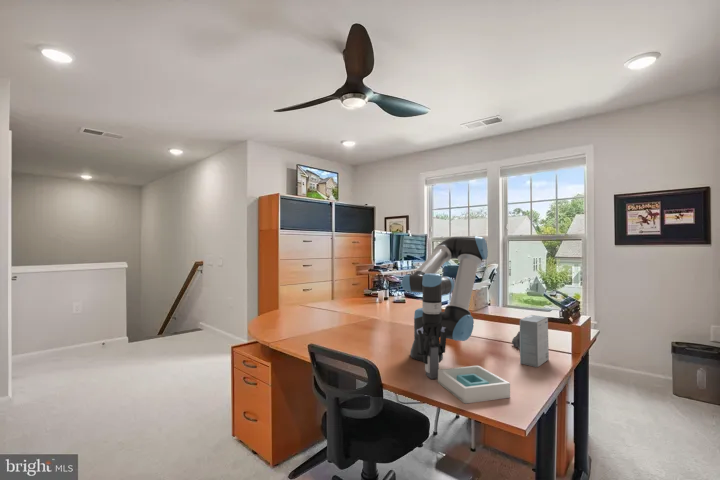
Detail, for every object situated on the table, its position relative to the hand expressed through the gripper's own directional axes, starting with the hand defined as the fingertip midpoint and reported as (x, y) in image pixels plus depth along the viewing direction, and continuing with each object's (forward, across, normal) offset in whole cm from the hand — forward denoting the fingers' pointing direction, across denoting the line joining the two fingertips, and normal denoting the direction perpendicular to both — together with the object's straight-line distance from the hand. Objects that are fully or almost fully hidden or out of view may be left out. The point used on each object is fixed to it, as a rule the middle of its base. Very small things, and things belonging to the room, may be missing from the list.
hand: (431, 371), depth 134 cm
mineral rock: (+3, +65, +24) cm, 69 cm away
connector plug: (+2, 0, 0) cm, 2 cm away
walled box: (+3, +9, -14) cm, 17 cm away
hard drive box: (+3, +55, +5) cm, 55 cm away
